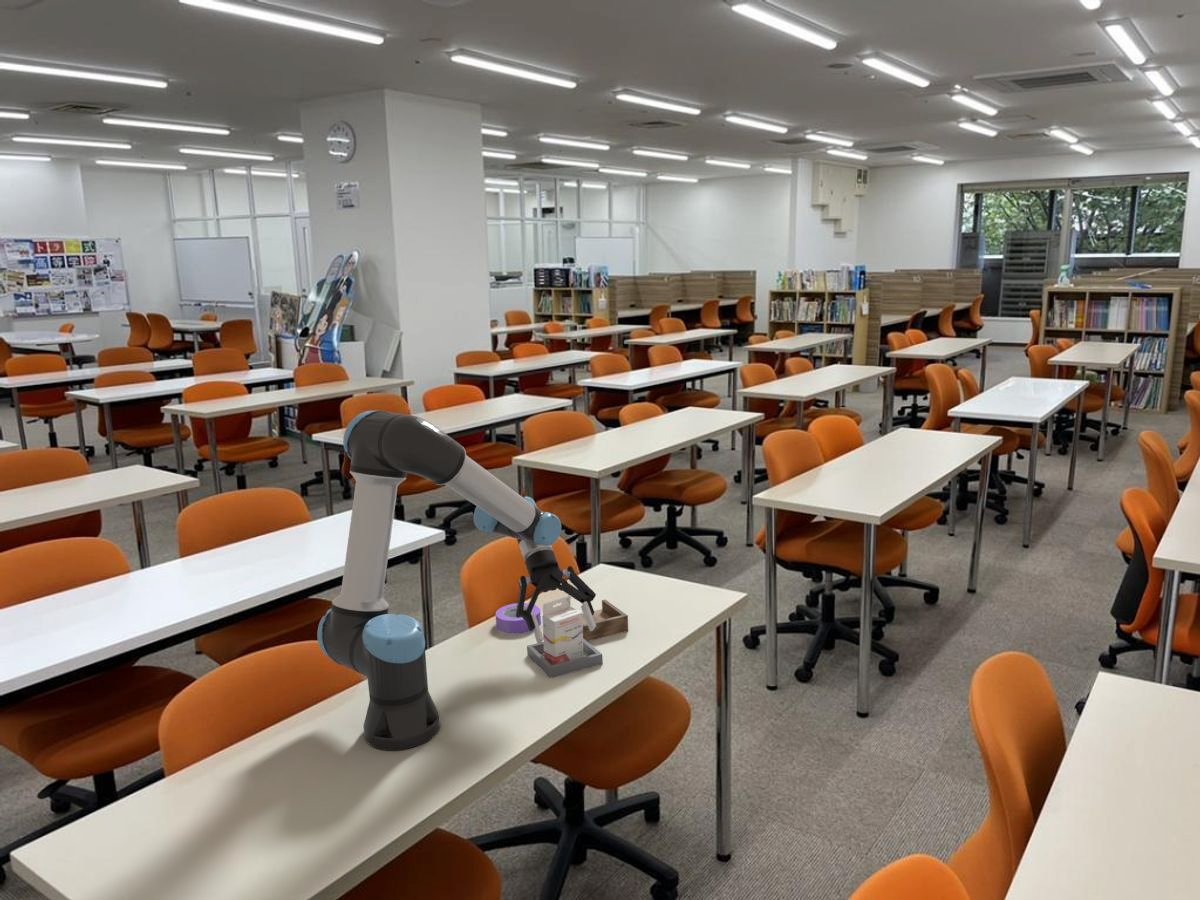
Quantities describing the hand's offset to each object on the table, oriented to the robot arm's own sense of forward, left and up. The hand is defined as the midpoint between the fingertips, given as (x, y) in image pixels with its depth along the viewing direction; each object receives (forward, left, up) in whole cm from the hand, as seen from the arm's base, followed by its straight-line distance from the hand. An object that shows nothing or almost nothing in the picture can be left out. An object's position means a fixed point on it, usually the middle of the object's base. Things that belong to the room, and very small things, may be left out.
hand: (567, 635), depth 202 cm
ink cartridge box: (0, +2, -7) cm, 8 cm away
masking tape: (-2, +27, -8) cm, 29 cm away
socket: (0, +2, -7) cm, 8 cm away
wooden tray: (+14, +15, -7) cm, 22 cm away
